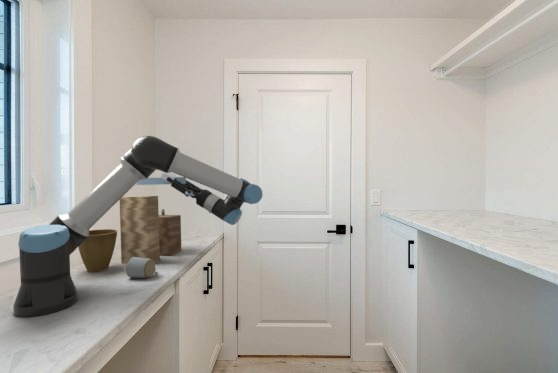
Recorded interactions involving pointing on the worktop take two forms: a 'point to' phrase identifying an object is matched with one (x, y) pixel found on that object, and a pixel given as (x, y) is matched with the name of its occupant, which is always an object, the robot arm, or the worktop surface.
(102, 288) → the worktop surface
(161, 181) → the blue-grey block
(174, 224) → the wooden block with pegs
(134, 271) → the grey short cylinder
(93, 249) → the plant pot
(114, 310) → the worktop surface
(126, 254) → the stand
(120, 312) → the worktop surface
